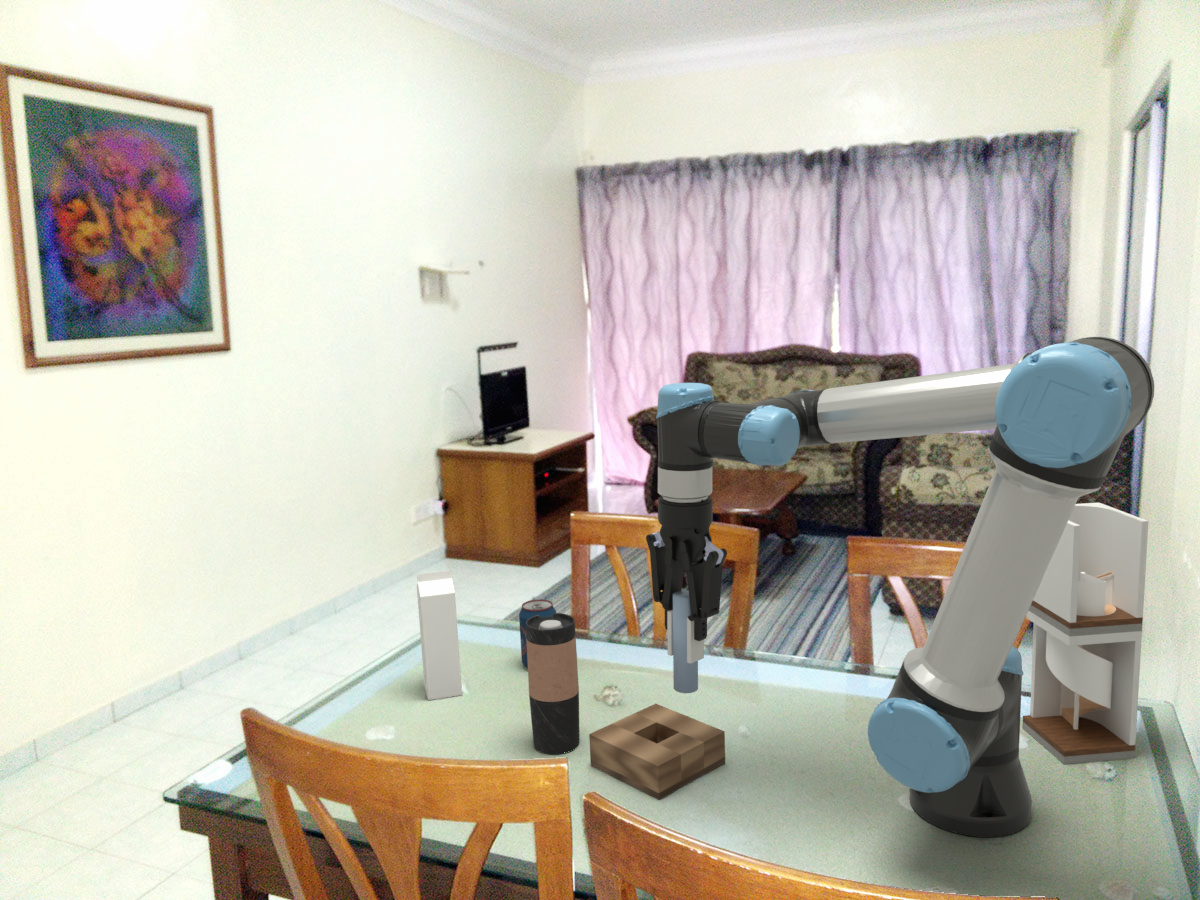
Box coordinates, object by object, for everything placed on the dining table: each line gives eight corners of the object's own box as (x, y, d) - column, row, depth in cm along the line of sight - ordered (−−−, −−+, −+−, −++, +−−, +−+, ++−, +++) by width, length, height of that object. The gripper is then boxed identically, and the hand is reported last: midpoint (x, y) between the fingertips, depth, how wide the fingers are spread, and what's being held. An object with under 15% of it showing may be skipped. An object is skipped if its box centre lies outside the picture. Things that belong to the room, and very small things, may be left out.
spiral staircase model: (1022, 728, 150) (1030, 506, 144) (1088, 722, 151) (1099, 502, 145) (1063, 764, 139) (1074, 525, 133) (1134, 758, 140) (1148, 521, 134)
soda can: (519, 661, 185) (515, 600, 183) (555, 656, 187) (552, 596, 184) (525, 675, 178) (521, 612, 176) (562, 670, 180) (559, 608, 178)
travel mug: (563, 760, 146) (556, 633, 143) (522, 748, 150) (514, 625, 147) (590, 738, 153) (585, 616, 149) (550, 728, 157) (544, 609, 153)
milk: (462, 695, 171) (454, 574, 167) (427, 701, 169) (418, 579, 165) (457, 682, 177) (449, 565, 173) (423, 687, 175) (415, 569, 171)
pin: (703, 688, 140) (702, 594, 137) (685, 695, 137) (685, 600, 135) (685, 680, 142) (685, 588, 139) (668, 687, 140) (667, 594, 137)
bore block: (725, 763, 143) (724, 731, 142) (659, 799, 134) (657, 766, 133) (656, 733, 154) (655, 703, 153) (590, 765, 144) (589, 734, 143)
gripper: (748, 500, 131) (746, 665, 135) (662, 482, 143) (663, 634, 147) (711, 511, 126) (710, 681, 131) (625, 491, 138) (627, 647, 142)
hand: (685, 655), depth 139 cm, fingers closed on pin, 3 cm apart
